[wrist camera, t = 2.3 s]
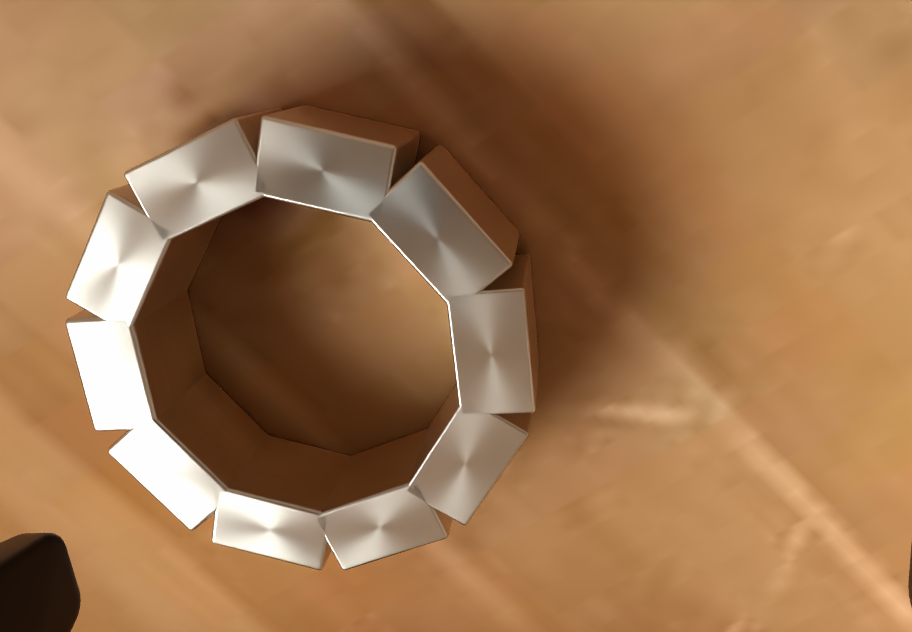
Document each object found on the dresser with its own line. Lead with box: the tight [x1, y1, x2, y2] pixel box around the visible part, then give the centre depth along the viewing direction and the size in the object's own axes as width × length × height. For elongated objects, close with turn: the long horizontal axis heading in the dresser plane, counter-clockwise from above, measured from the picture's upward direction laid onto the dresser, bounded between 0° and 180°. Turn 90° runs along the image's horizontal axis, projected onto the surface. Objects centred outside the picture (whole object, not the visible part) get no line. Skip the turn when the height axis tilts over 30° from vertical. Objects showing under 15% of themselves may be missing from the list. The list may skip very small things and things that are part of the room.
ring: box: [66, 105, 539, 570], centre depth 16 cm, size 9×9×2 cm
